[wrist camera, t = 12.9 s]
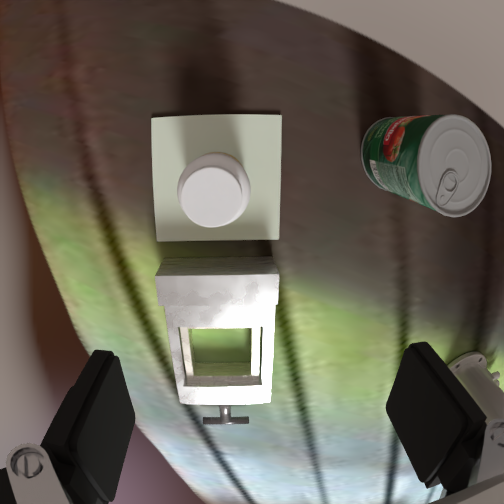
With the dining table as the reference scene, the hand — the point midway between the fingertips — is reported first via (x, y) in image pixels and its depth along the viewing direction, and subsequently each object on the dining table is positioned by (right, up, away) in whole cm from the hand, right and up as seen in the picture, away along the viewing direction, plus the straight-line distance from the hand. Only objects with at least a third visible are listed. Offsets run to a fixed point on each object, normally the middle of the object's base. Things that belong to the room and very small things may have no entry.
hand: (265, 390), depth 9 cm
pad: (-4, +11, +20) cm, 23 cm away
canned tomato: (+14, +14, +20) cm, 29 cm away
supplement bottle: (-4, +11, +20) cm, 23 cm away
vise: (-4, -7, +27) cm, 28 cm away
